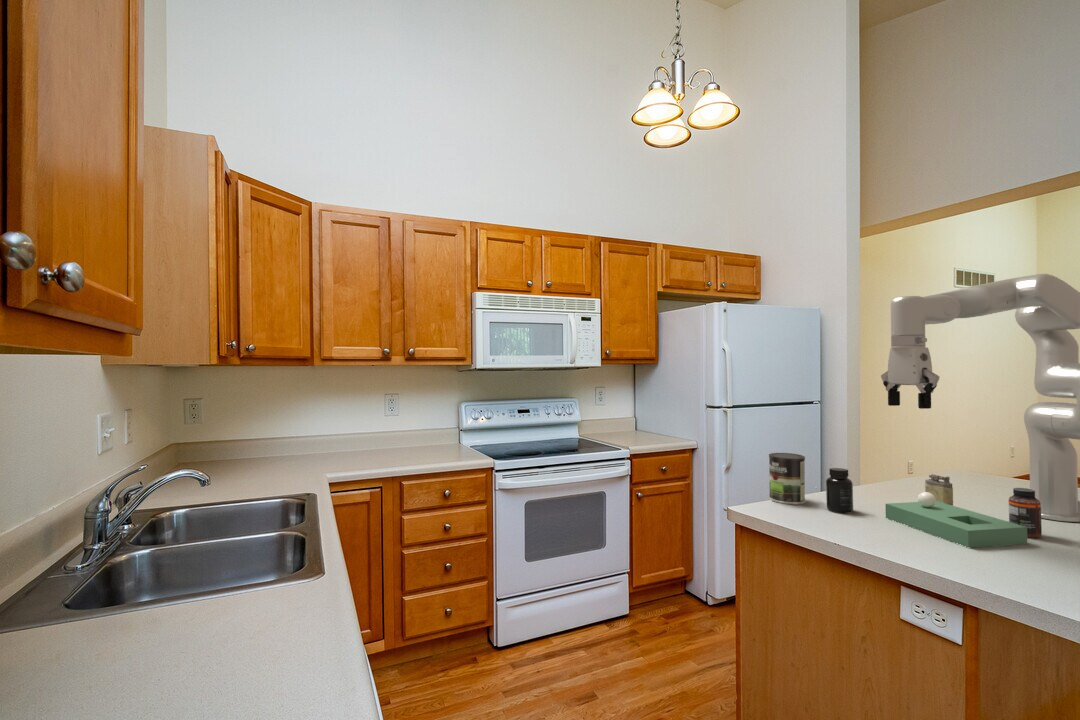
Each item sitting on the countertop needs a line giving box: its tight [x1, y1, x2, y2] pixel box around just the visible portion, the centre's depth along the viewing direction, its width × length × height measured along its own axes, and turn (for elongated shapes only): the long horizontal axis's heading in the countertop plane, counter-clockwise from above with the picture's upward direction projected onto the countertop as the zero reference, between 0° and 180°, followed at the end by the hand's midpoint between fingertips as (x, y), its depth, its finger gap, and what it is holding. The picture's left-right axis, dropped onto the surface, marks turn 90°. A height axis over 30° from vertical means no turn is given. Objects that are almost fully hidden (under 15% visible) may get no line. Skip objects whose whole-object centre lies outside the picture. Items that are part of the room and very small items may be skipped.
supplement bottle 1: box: [825, 467, 854, 514], centre depth 153 cm, size 7×7×12 cm
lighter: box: [924, 473, 954, 506], centre depth 153 cm, size 7×4×10 cm, turn 23°
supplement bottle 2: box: [1008, 487, 1043, 539], centre depth 130 cm, size 6×6×11 cm
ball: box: [917, 491, 936, 507], centre depth 141 cm, size 4×4×4 cm
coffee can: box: [768, 452, 806, 505], centre depth 165 cm, size 10×10×14 cm
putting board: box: [885, 501, 1028, 548], centre depth 134 cm, size 16×24×4 cm, turn 8°
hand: (908, 406), depth 140 cm, fingers open, 9 cm apart
